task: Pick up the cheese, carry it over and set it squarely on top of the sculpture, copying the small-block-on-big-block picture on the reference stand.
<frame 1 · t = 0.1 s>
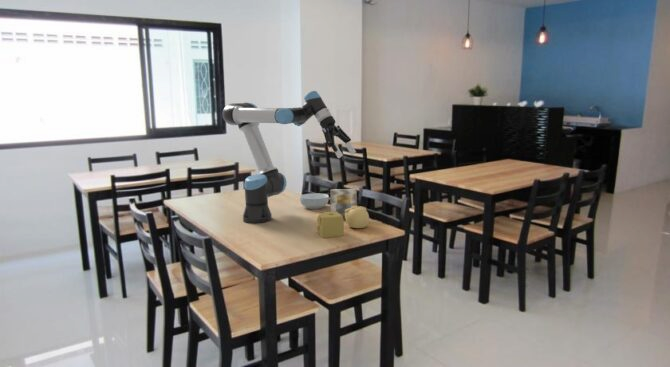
hand: (347, 155, 228), 36 cm above the table, tool tilted 35°, fingers open, 13 cm apart
reference stand: (343, 218, 248), on the table
cereal bowl: (314, 207, 272), on the table
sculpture: (357, 227, 232), on the table
cheese: (330, 234, 221), on the table
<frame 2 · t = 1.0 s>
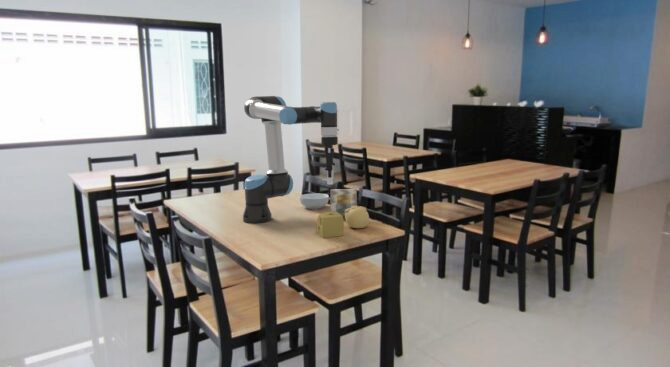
hand: (330, 181, 217), 25 cm above the table, tool pointing down, fingers open, 13 cm apart
nothing on the table moved.
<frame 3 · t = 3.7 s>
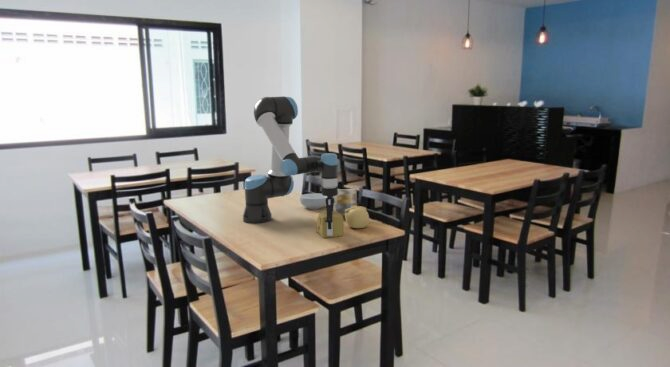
hand: (330, 231, 220), 1 cm above the table, tool pointing down, fingers closed on cheese, 12 cm apart
cheese: (330, 234, 221), on the table, touching gripper
everything else where it was.
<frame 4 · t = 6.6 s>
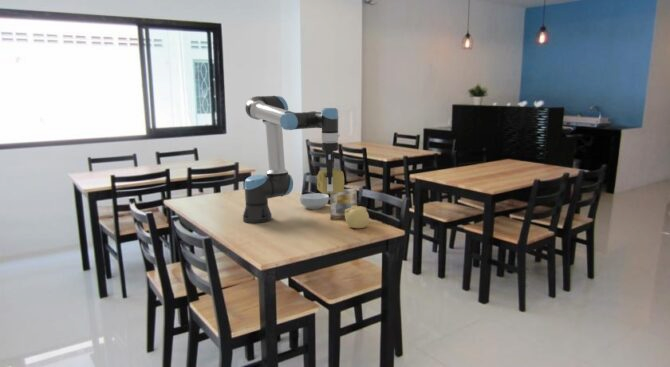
hand: (330, 188, 217), 22 cm above the table, tool pointing down, fingers closed on cheese, 12 cm apart
cheese: (330, 191, 217), point 21 cm above the table, touching gripper
everything else where it was.
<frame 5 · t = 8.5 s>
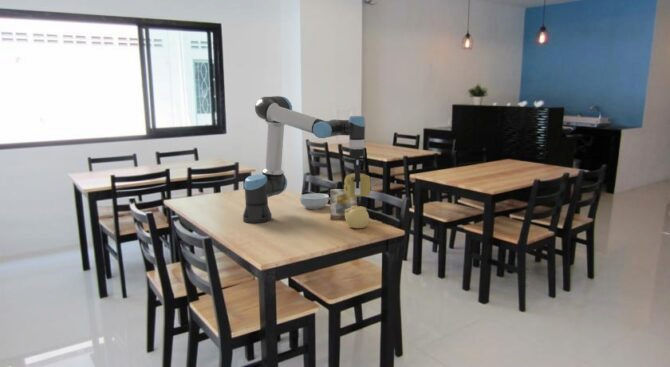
hand: (357, 192, 228), 18 cm above the table, tool pointing down, fingers closed on cheese, 12 cm apart
cheese: (357, 195, 229), point 16 cm above the table, touching gripper
everything else where it was.
when the fingers open (14 cm above the table, at t = 9.8 s): cheese drops 2 cm, resting on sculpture.
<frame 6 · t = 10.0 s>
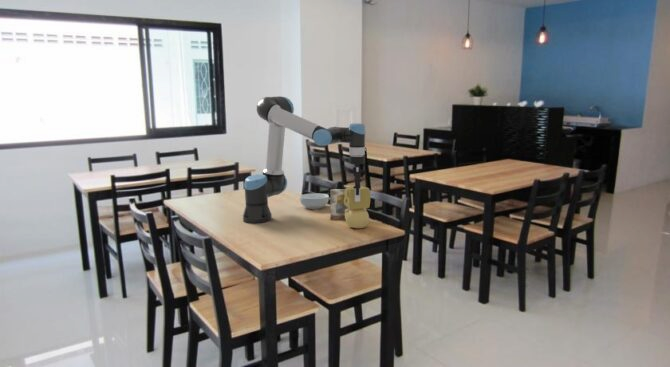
hand: (357, 198, 229), 15 cm above the table, tool pointing down, fingers open, 13 cm apart
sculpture: (357, 227, 232), on the table, touching cheese
cheese: (357, 207, 230), point 10 cm above the table, touching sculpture
everything else where it was.
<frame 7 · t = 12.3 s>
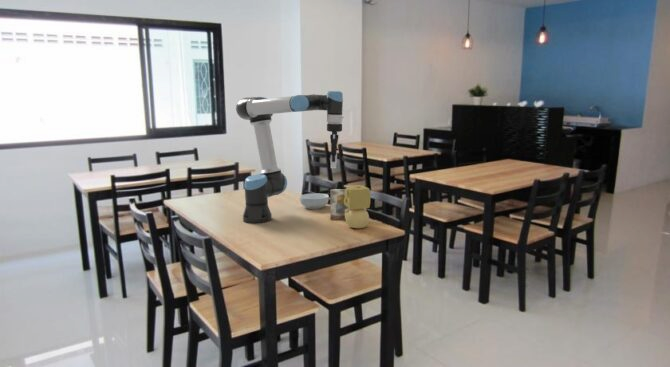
hand: (333, 165, 232), 30 cm above the table, tool pointing down, fingers open, 13 cm apart
nothing on the table moved.
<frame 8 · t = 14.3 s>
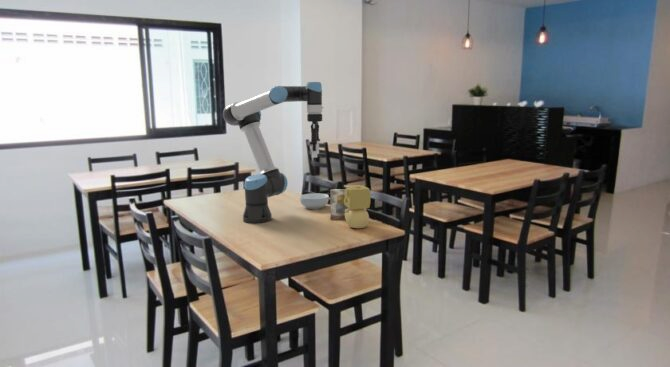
hand: (315, 155, 236), 35 cm above the table, tool pointing down, fingers open, 13 cm apart
nothing on the table moved.
at the end: cheese inside the target area on the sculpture (0.2 cm from its centre), point 10.5 cm above the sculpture's base; cheese tilted 0°; the gripper is holding nothing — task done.
